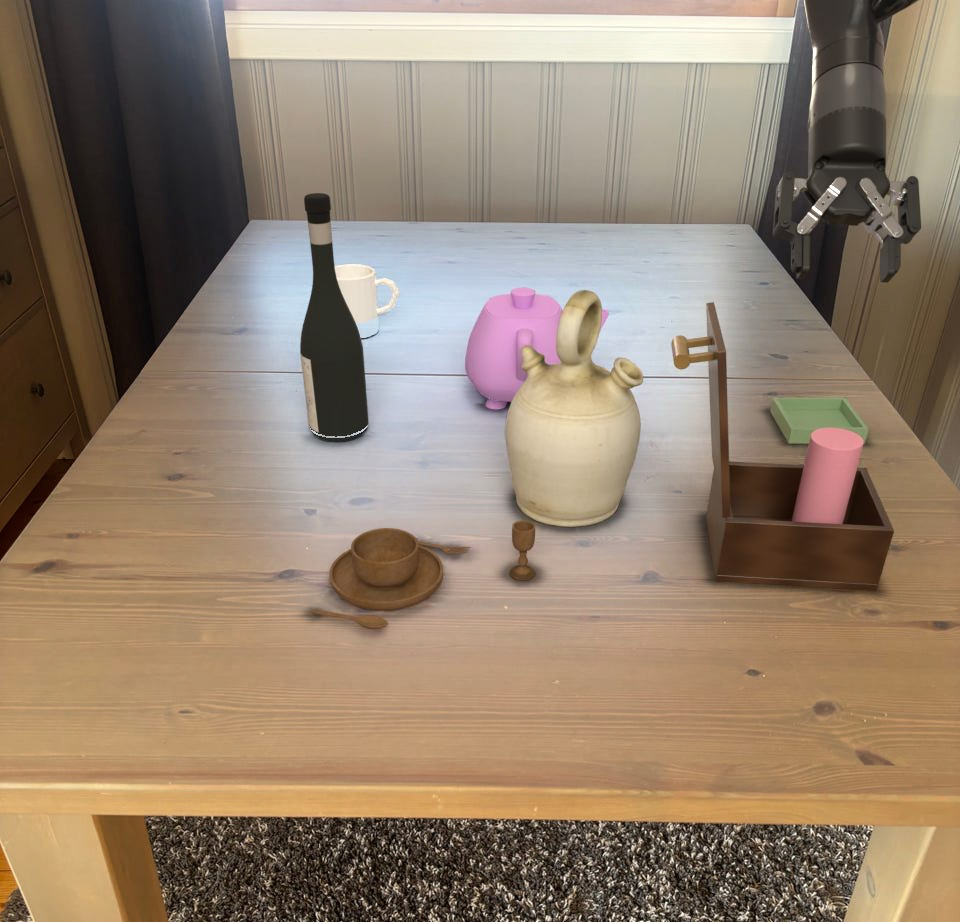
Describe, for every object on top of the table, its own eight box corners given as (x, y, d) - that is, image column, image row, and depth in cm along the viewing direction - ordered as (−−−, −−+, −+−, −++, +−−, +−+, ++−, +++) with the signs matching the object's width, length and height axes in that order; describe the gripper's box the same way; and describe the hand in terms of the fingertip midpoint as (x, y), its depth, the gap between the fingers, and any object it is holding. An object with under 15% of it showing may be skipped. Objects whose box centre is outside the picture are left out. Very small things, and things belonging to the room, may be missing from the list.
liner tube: (843, 545, 107) (872, 437, 99) (822, 565, 104) (850, 454, 96) (800, 529, 110) (824, 422, 102) (778, 548, 107) (801, 439, 99)
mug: (396, 342, 159) (393, 281, 153) (325, 338, 160) (319, 277, 154) (406, 325, 165) (403, 265, 159) (337, 322, 166) (332, 262, 160)
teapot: (611, 428, 133) (620, 318, 124) (464, 428, 133) (463, 319, 124) (596, 372, 149) (603, 271, 139) (465, 372, 148) (464, 271, 139)
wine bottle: (302, 442, 129) (272, 202, 111) (319, 417, 136) (294, 186, 117) (361, 447, 128) (340, 204, 110) (375, 421, 135) (358, 188, 116)
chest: (851, 524, 112) (866, 467, 108) (876, 590, 102) (894, 530, 97) (705, 516, 114) (714, 460, 109) (715, 581, 103) (725, 521, 99)
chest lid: (714, 301, 99) (668, 308, 100) (726, 350, 88) (674, 357, 89) (719, 456, 109) (677, 460, 110) (730, 517, 98) (684, 521, 99)
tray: (842, 411, 137) (845, 397, 136) (865, 443, 129) (869, 428, 128) (769, 411, 137) (772, 397, 136) (788, 443, 129) (791, 429, 128)
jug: (658, 502, 116) (685, 291, 101) (573, 550, 108) (588, 327, 93) (563, 460, 125) (574, 260, 110) (477, 501, 117) (476, 290, 101)
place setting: (374, 532, 111) (371, 486, 107) (540, 567, 105) (542, 519, 102) (297, 616, 98) (290, 566, 94) (481, 660, 92) (481, 610, 89)
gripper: (788, 101, 97) (785, 257, 95) (932, 105, 96) (932, 262, 95) (767, 146, 104) (764, 291, 103) (901, 150, 104) (900, 296, 102)
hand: (845, 277), depth 99 cm, fingers open, 8 cm apart
